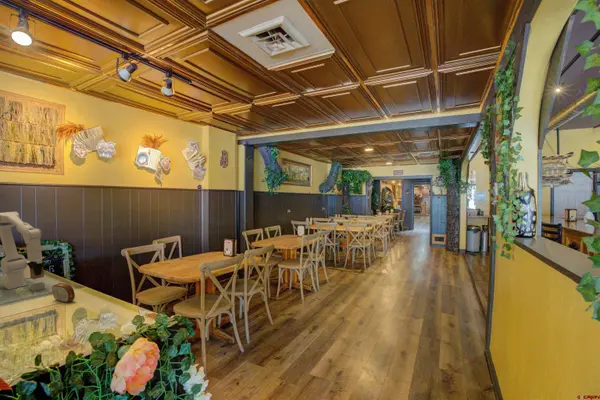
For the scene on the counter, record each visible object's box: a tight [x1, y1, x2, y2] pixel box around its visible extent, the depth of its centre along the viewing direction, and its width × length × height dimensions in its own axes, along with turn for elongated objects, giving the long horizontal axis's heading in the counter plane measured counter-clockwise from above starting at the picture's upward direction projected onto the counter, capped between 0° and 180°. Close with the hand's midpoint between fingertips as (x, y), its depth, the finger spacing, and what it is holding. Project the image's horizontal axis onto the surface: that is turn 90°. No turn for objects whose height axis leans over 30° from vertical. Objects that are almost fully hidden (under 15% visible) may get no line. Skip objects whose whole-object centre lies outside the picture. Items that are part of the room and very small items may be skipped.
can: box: [24, 258, 31, 280], centre depth 181 cm, size 6×6×12 cm
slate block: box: [30, 281, 46, 292], centre depth 157 cm, size 5×5×3 cm
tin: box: [51, 282, 76, 303], centre depth 136 cm, size 15×3×8 cm, turn 65°
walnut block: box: [30, 266, 45, 280], centre depth 157 cm, size 4×4×6 cm
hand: (36, 274), depth 157 cm, fingers closed on walnut block, 4 cm apart
